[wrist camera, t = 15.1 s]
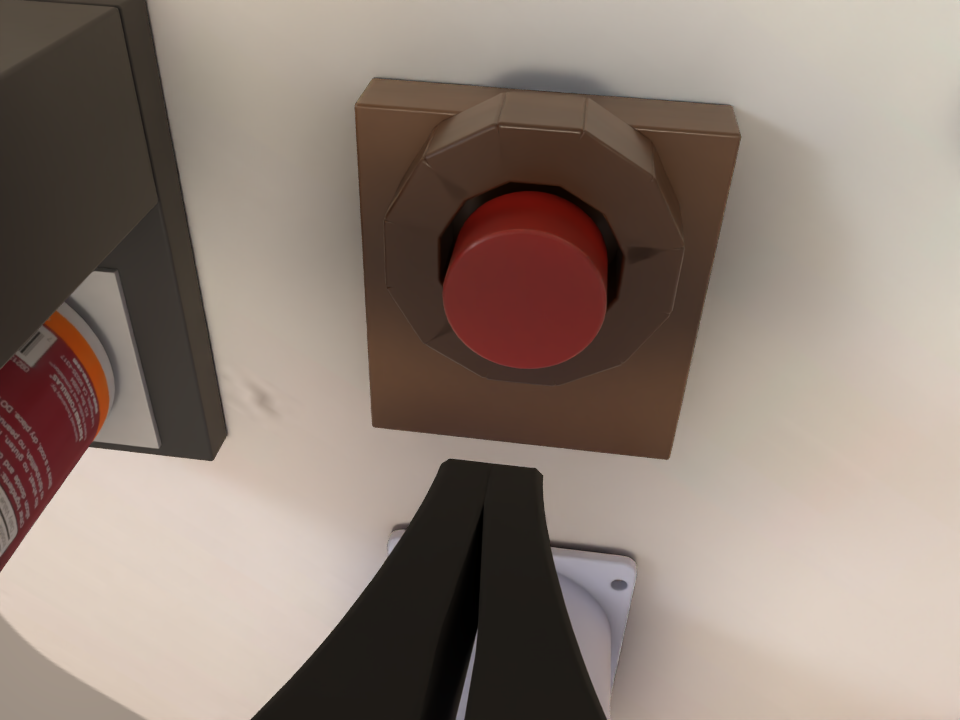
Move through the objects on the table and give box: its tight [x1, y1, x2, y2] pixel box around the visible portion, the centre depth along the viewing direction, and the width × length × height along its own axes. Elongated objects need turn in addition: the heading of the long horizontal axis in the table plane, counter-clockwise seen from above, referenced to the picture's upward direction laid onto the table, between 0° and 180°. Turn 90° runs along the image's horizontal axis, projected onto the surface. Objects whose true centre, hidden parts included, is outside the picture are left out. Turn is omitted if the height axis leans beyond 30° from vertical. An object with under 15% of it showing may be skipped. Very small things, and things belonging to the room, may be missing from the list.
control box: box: [355, 78, 741, 460], centre depth 20 cm, size 10×8×4 cm
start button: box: [442, 191, 608, 369], centre depth 18 cm, size 3×3×2 cm
